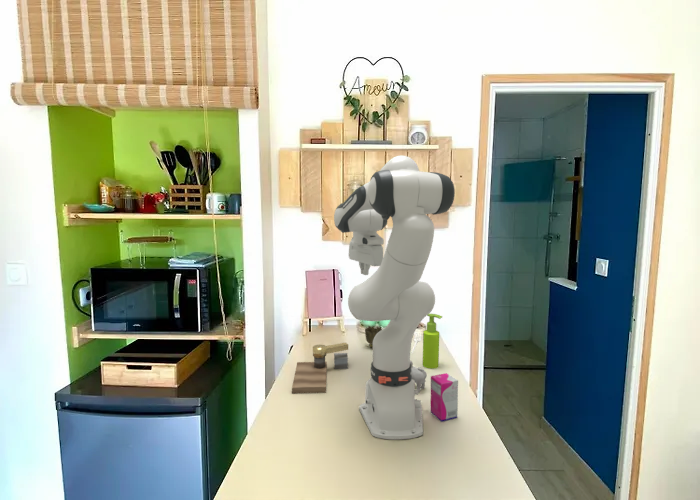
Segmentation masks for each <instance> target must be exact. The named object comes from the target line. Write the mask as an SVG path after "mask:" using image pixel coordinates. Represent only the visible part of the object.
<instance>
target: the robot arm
mask: <svg viewBox="0 0 700 500" xmlns="http://www.w3.org/2000/svg"><path fill="white" fill-rule="evenodd" d="M455 192H456V191H455V185H454V182H453V180H452V179H451V177H449V176H448V175H445V174H443V173H440V172H437V171H436V172H434V171H420V169H419V165H418V164H417V163H416V161H415V160H414V159H413V158H411V156H410V157H409V156H408V155H396V156H394V157H392V158H391V159H389V160H388V161H387V162H386V163H385V164H384V165H383V166H382V167H381V168H380V170H377V171H376V172H374V173H373V175H371V177H370V180H369V181H368V182H366V183H364V184H363V185H361V186H359V187H357V188H356V189H355V190H354V191H352V193H351V194H350V195H349V197H347V198H346V199H345V200H344V202H343V203H340V204H338V206H337V207H336V208H335V210H334V214H333V221H334V226H335V228H336V229H338V231H340V232H341V233H344V234H345V233H352V237H351V239H350V242H349V243H348V244H349V245H348V258H349V260H351V261H355V262H358V267H359V268H360V274H362V275H363V276H368V275H369V274H370V273H369V270H370V268H371V267H377V269H376V271H375V272H374V273H373V274H372V275H371V276H370V277H369V278H367V279H366V280H364V281H362V282H361V283H360V284H357V285H355V286H354V287H352V289H351V291H350V292H349V295H348V298H347V304H348V309H349V312H350V314H351V315H352V316H353V317H354V318H355V319H356V320H357V321H358V320H360V321H365V322H366V321H368V322H381V321H389V322H388V323H387V325H386V326H385V327H384V328H381V329H382V330H381V331H379V332H378V333H377V334H376V335H375V337H374V339H373V348H372V361H371V364H370V377H369V379H368V380H367V381H366V382H365V394H364V395H365V398H364V399H365V400H364V402H363V403H361V404H360V405H359V407H358V410H359V412H360V415H361V416H362V418H363V420H364V422H365V424H366V427H367V428H368V430H369V432H370V434H371V435H372V436H373V437H375V438H378V439H384V440H408V439H410V440H411V439H414V438H417V437H421V436H423V435H424V423H423V421H424V420H423V407H422V406H423V405H422V402H421V401H422V400H421V399H416V397H415V395H418V394H419V393H418V390H416V389H415V388H416V387H415V386H416V383H415V381H414V380H413V379H412V368H411V364H410V360H411V352H412V350H411V349H412V341H413V338H414V336H415V335H414V334H415V332H416V330H417V329H418V327H419V325H420V324H421V322H422V321H423V320H424V318H425V317H426V316H427V315H428V314H431V313H432V311H433V309H434V307H435V305H436V304H435V303H436V296H435V295H436V294H435V292H434V289H433V288H432V286H431V285H430V284H429V283H428V282H425V281H420V280H421V279H422V276H423V273H424V270H425V268H426V265H427V262H428V260H429V257H430V253H431V250H432V246H433V242H434V234H435V225H434V221H433V220H432V219H431V217H429V216H428V215H441V214H445V213H447V212H448V211H449V210H450V209H451V208H452V205H453V204H454V201H455V194H456V193H455ZM390 217H391V219H392V220H391V221H392V229H391V233H390V235H389V238H388V241H387V245H386V247H385V248H386V249H385V252H384V247H383V245H384V244H385V239H384V238H383V237H382V236H380V235H379V233H378V231H379V232H380V231H382V230H384V229H385V228H386V226H387V225H388V220H389V219H390ZM427 317H428V316H427Z"/></svg>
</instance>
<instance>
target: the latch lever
mask: <svg viewBox="0 0 700 500" xmlns="http://www.w3.org/2000/svg"><path fill="white" fill-rule="evenodd" d="M348 350H349V344H348V343H347V342H341V343H335V344H329V345H325V344H315V345H313V346H312V357H313V358H314V357H316V358H322V357H325V358H326V357H327V354H332V353H333V354H334V353H340V352H344V351H348Z"/></svg>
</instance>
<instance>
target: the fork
mask: <svg viewBox="0 0 700 500" xmlns="http://www.w3.org/2000/svg"><path fill="white" fill-rule="evenodd" d="M413 338H414V339H413V341H414V344H413V347H412V350H411V351H410V354H414V352H415V350H416V347H417V345H418V343H420V342H421V341H422V334H420V333H416V334H415V335H414V337H413Z"/></svg>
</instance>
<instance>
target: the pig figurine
mask: <svg viewBox="0 0 700 500" xmlns="http://www.w3.org/2000/svg"><path fill="white" fill-rule="evenodd" d="M410 364H411V368H412V379H413V380H414V381H415V385H416V389H415V390H418V394H419V393H420V392H421V390H423V389H424V390H425V387H426V382H427V381H426V379H427V372H426V371H425V369H424V368H422V367H420V366H418V367H416V366H414V365H413V361H412V360H411V359H410Z"/></svg>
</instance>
